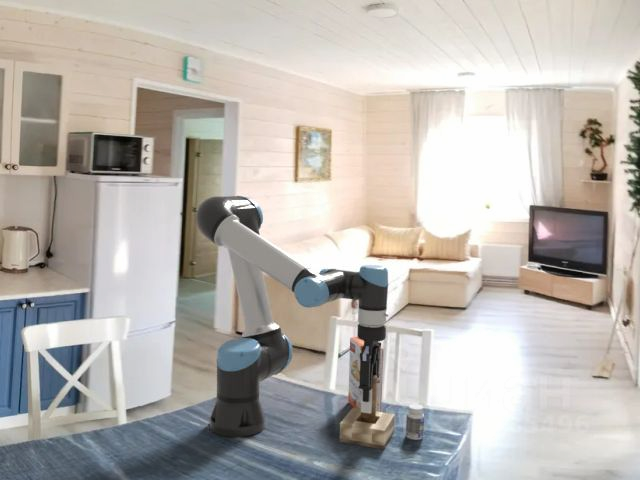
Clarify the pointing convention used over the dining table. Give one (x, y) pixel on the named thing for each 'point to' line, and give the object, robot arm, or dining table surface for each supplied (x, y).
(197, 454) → the dining table surface
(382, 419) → the bore block
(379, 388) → the cracker box
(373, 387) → the pin
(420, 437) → the pill bottle
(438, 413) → the dining table surface
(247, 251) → the robot arm
